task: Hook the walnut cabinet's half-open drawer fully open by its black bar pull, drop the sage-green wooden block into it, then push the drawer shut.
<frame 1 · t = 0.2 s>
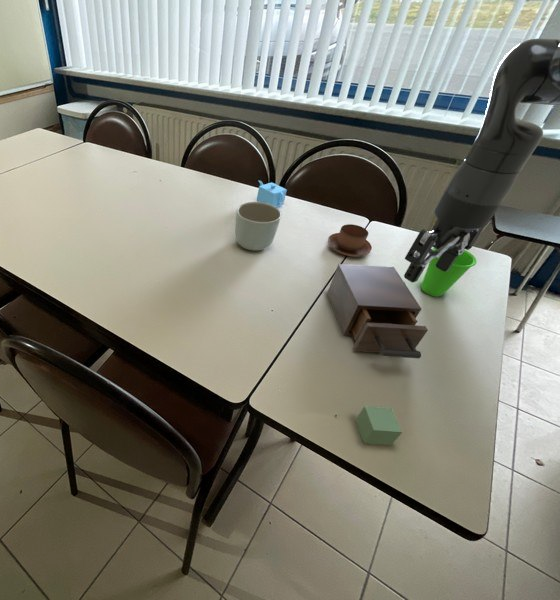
hand: (425, 274, 69), 19 cm above the table, tool pointing down, fingers open, 8 cm apart
drawer: (382, 325, 78), point 5 cm above the table, slide at 4.0 cm
planter: (252, 244, 111), on the table
cup and saucer: (347, 249, 109), on the table
cabinet: (361, 314, 88), on the table
teapot: (267, 204, 130), on the table
block: (372, 432, 65), on the table
cup: (431, 290, 95), on the table
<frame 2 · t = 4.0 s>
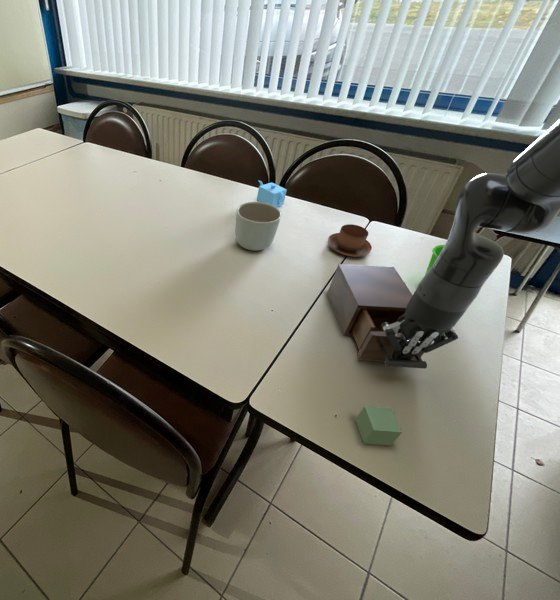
hand: (398, 361, 72), 4 cm above the table, tool pointing down, fingers closed
drawer: (386, 334, 76), point 5 cm above the table, slide at 6.5 cm, touching gripper
everything else where it was.
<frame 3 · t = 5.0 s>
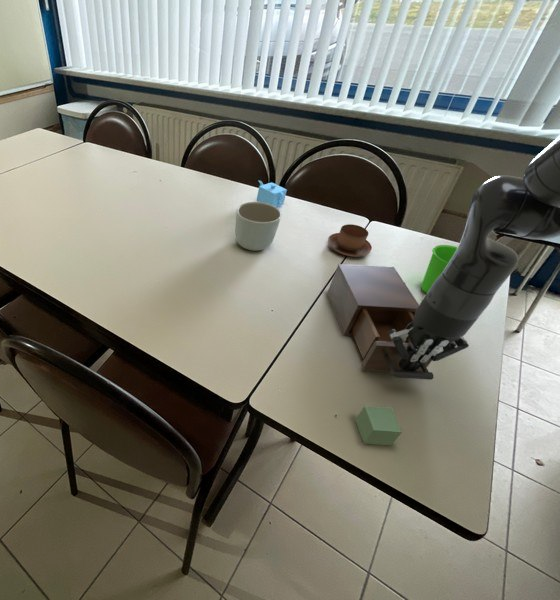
hand: (405, 370, 70), 5 cm above the table, tool pointing down, fingers closed
drawer: (391, 343, 75), point 5 cm above the table, slide at 9.1 cm
everything else where it was.
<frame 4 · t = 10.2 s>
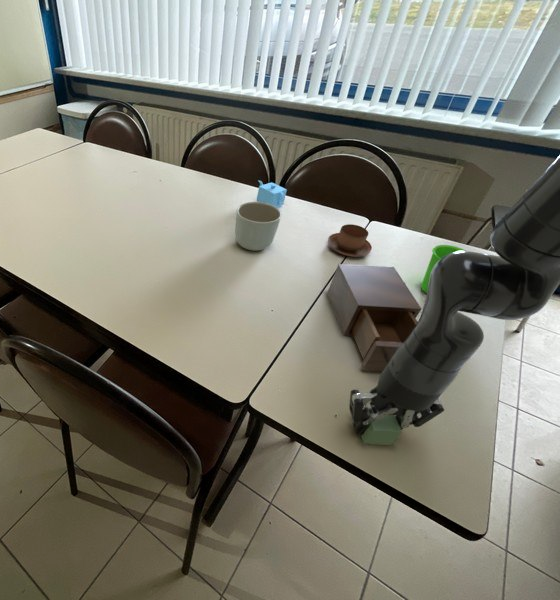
hand: (373, 431, 65), 0 cm above the table, tool pointing down, fingers closed on block, 4 cm apart
block: (372, 432, 65), on the table, touching gripper
everything else where it was.
when the fingers open (7 cm above the table, at t = 16.3 s): block drops 5 cm, resting on drawer.
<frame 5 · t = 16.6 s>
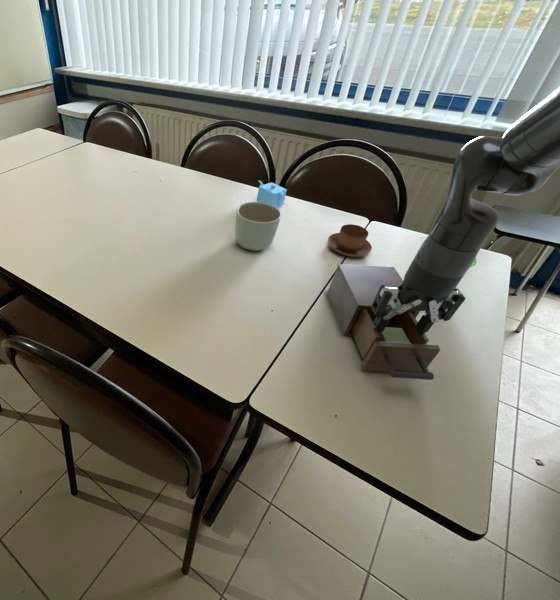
hand: (398, 330, 72), 8 cm above the table, tool pointing down, fingers open, 7 cm apart
drawer: (391, 343, 75), point 5 cm above the table, slide at 9.1 cm, touching block, gripper
block: (385, 350, 76), point 2 cm above the table, touching drawer
everything else where it was.
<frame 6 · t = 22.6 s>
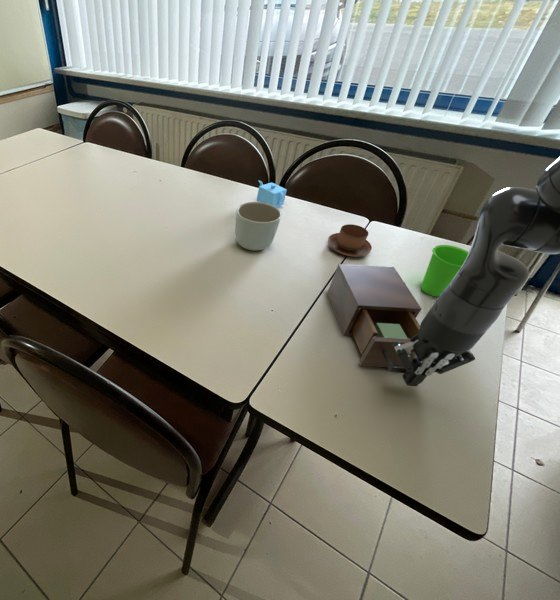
hand: (409, 382, 68), 4 cm above the table, tool pointing down, fingers closed
drawer: (389, 339, 75), point 5 cm above the table, slide at 7.9 cm, touching block
block: (383, 346, 77), point 2 cm above the table, touching drawer
everything else where it was.
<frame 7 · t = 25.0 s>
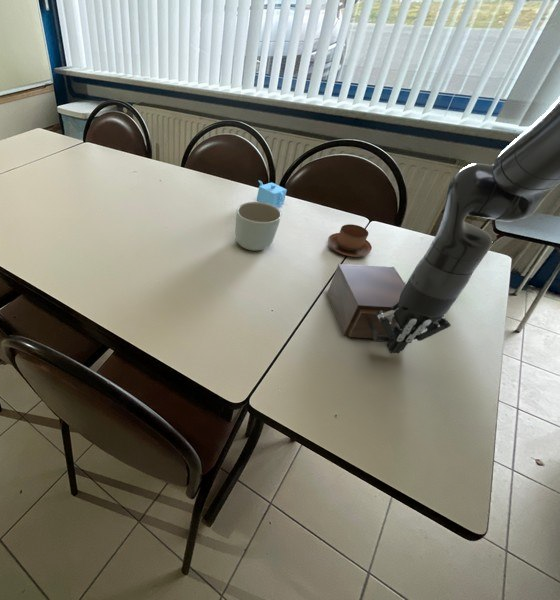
hand: (392, 350, 74), 4 cm above the table, tool pointing down, fingers closed
drawer: (375, 313, 81), point 5 cm above the table, slide at 0.0 cm, touching block, cabinet, gripper
block: (370, 320, 83), point 2 cm above the table, touching drawer
everything else where it was.
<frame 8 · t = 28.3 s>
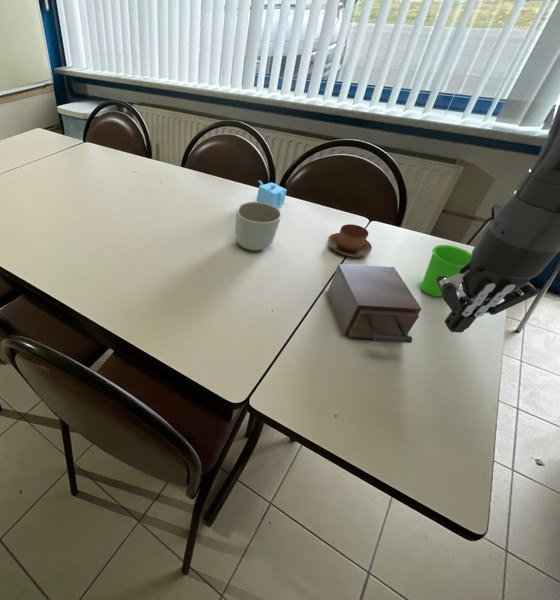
hand: (453, 328, 58), 19 cm above the table, tool pointing down, fingers closed
drawer: (375, 313, 81), point 5 cm above the table, slide at 0.0 cm, touching block
everything else where it was.
at the end: block inside the target area in the cabinet (3.9 cm from its centre), point 2.1 cm above the cabinet's base; drawer slide at 0.0 cm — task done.
